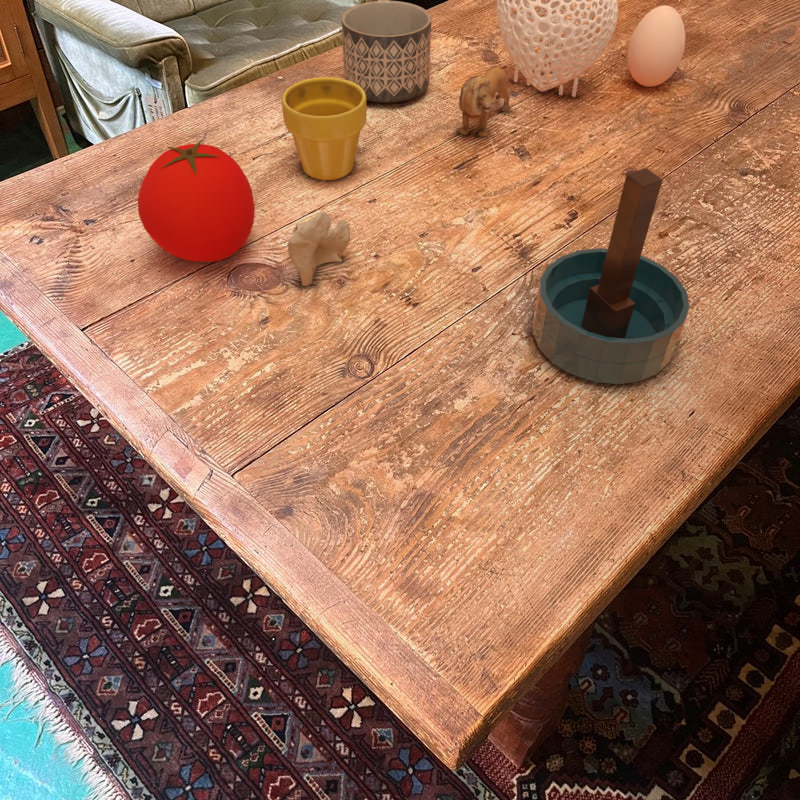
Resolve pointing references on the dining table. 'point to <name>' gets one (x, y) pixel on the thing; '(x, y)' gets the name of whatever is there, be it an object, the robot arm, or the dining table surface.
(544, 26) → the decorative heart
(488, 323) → the dining table surface
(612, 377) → the bowl
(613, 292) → the stirring stick
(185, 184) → the tomato
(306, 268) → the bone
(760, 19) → the dining table surface
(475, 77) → the lion figurine
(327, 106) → the flower pot
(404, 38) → the planter
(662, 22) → the egg
